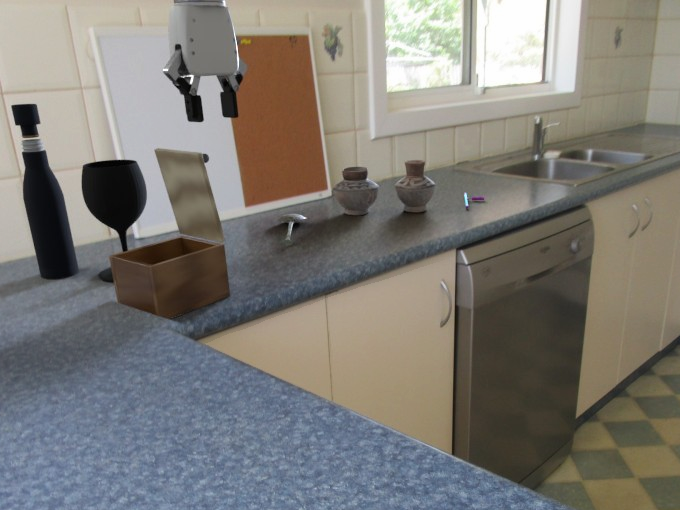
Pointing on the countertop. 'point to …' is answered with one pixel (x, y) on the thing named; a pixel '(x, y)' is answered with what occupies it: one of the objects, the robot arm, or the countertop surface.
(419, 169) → the pottery
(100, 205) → the wine glass
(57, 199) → the black water bottle
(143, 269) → the chest
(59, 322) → the countertop surface
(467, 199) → the squeegee
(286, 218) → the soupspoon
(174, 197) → the chest lid
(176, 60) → the robot arm
